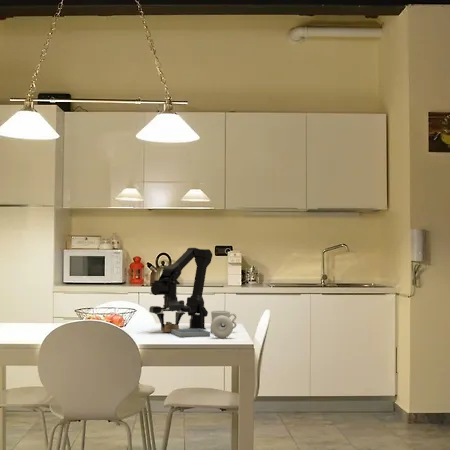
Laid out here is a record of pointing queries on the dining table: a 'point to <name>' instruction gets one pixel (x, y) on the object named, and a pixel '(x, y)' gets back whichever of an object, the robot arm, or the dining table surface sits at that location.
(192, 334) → the tray
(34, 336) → the dining table surface
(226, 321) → the grey wheel
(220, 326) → the mug
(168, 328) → the ring
